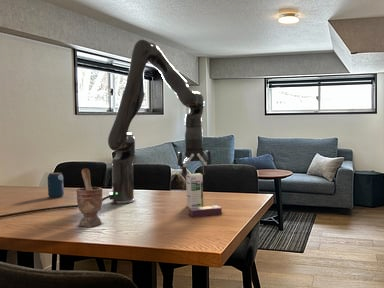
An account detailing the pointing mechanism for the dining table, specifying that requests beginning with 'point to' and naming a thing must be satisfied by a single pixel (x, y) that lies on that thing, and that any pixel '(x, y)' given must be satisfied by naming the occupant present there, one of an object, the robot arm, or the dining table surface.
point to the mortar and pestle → (89, 201)
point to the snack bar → (205, 211)
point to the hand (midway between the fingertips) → (194, 175)
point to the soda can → (55, 185)
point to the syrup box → (194, 190)
